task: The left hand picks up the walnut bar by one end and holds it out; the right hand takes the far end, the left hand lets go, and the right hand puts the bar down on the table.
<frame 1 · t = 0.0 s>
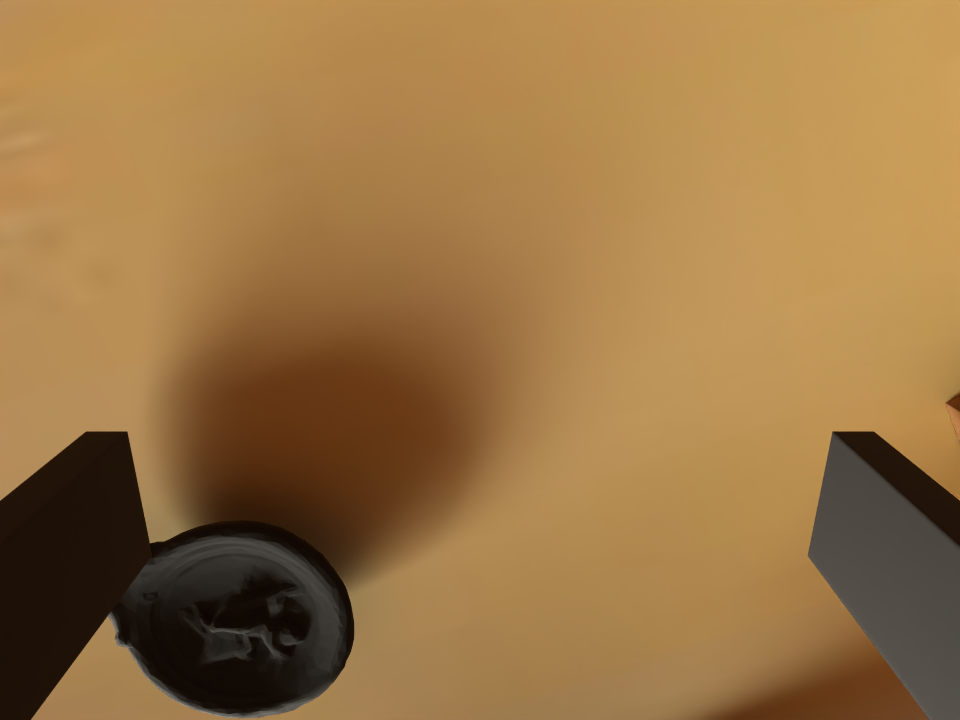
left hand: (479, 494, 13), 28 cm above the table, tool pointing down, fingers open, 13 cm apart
oil lamp: (227, 569, 47), on the table
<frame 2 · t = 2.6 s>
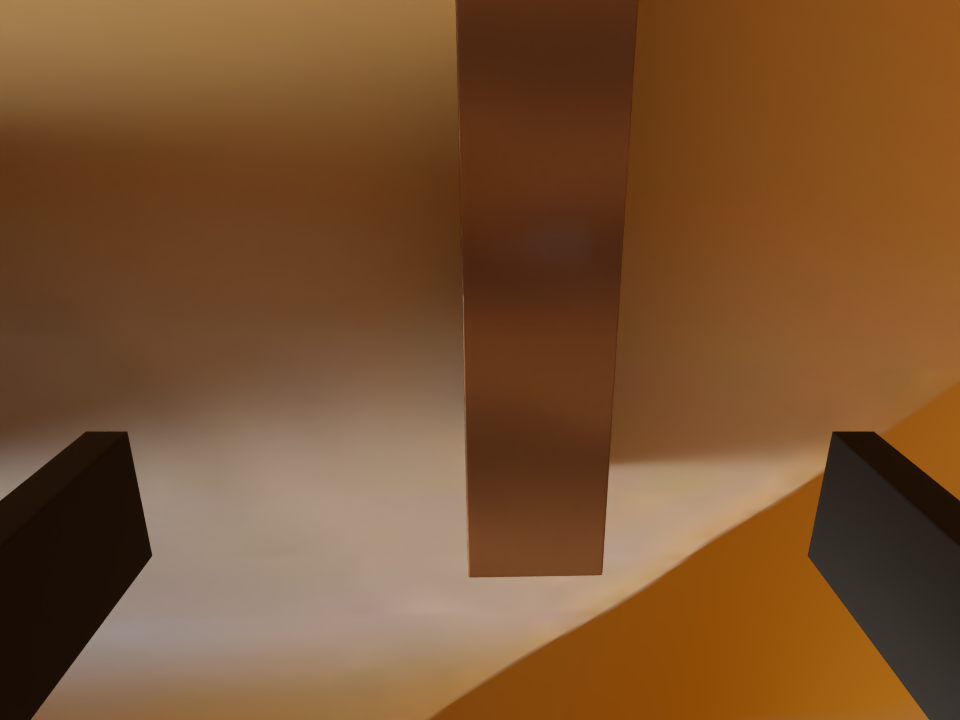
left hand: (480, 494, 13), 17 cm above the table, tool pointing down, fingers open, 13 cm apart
bar: (524, 91, 26), on the table
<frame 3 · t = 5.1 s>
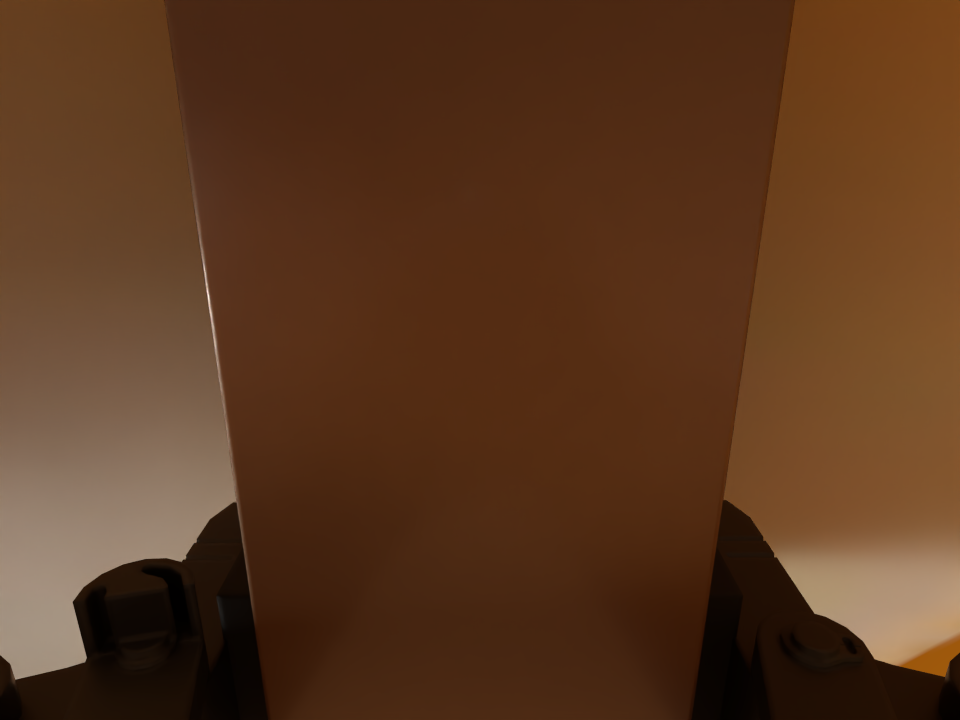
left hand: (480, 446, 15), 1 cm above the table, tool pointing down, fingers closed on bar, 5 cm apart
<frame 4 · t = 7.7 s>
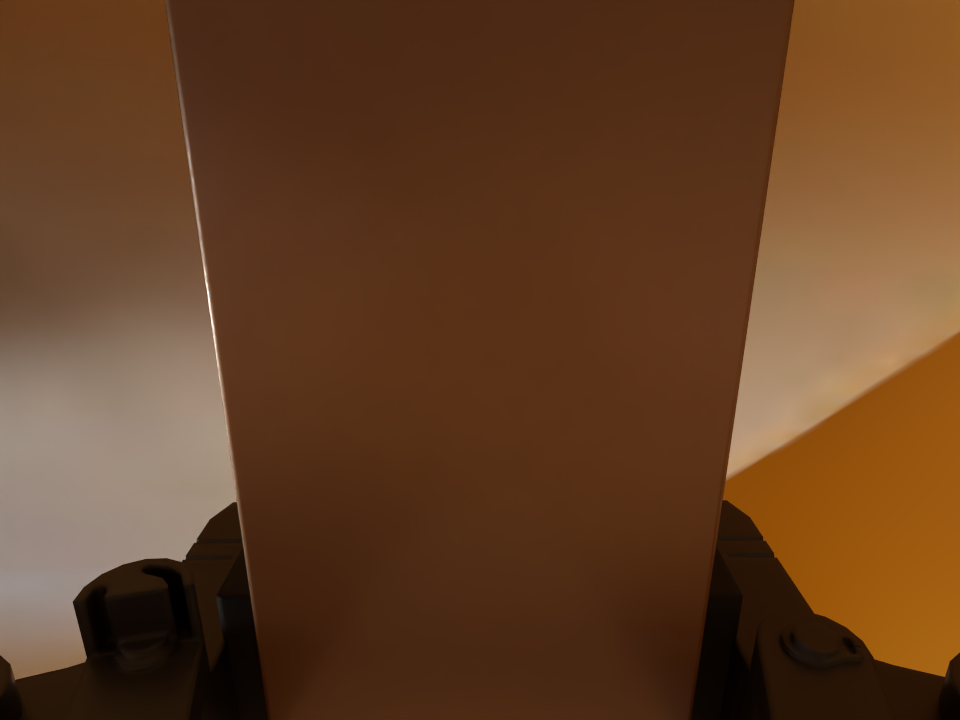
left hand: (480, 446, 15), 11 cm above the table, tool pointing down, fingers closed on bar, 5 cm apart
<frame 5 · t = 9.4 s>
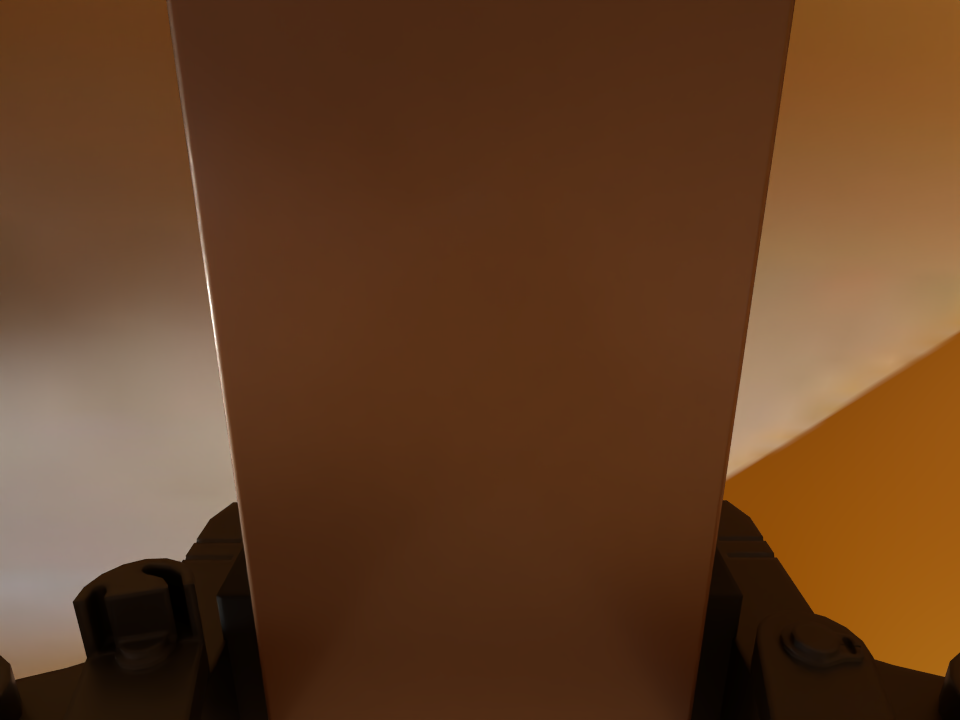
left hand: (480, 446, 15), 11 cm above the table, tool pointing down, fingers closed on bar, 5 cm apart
when the left hand's fingers open (11 cm above the table, at t = 10.2 s): bar stays where it is, held by the right hand.
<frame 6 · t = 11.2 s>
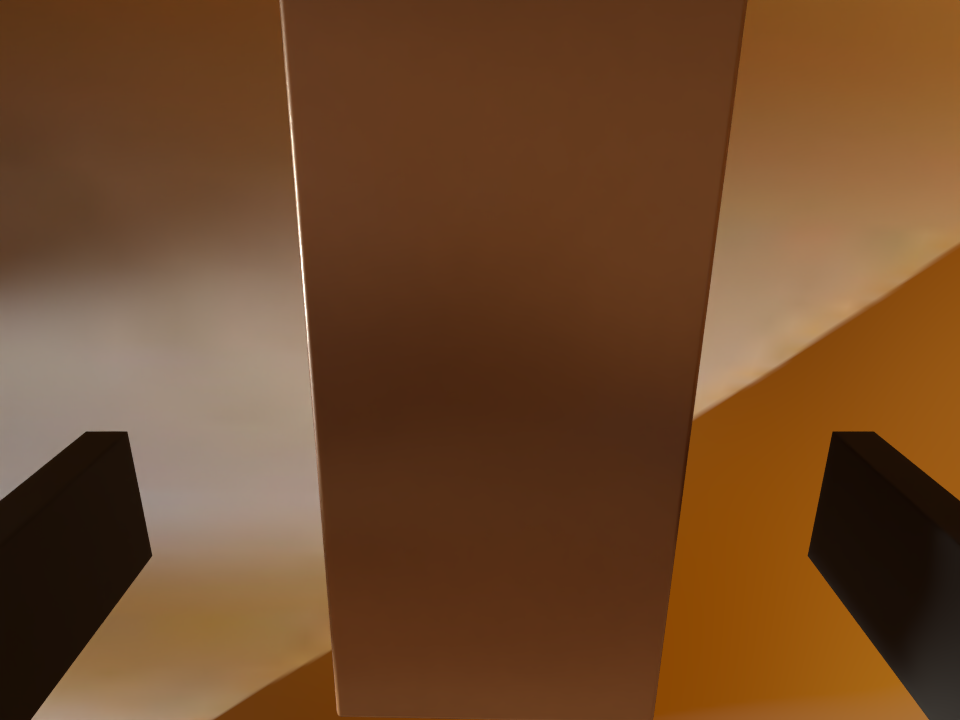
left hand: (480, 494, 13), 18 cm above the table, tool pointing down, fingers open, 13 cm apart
when the right hand's fingers open (2 cm above the table, at t = 13.7 s): bar drops 2 cm, on the table.
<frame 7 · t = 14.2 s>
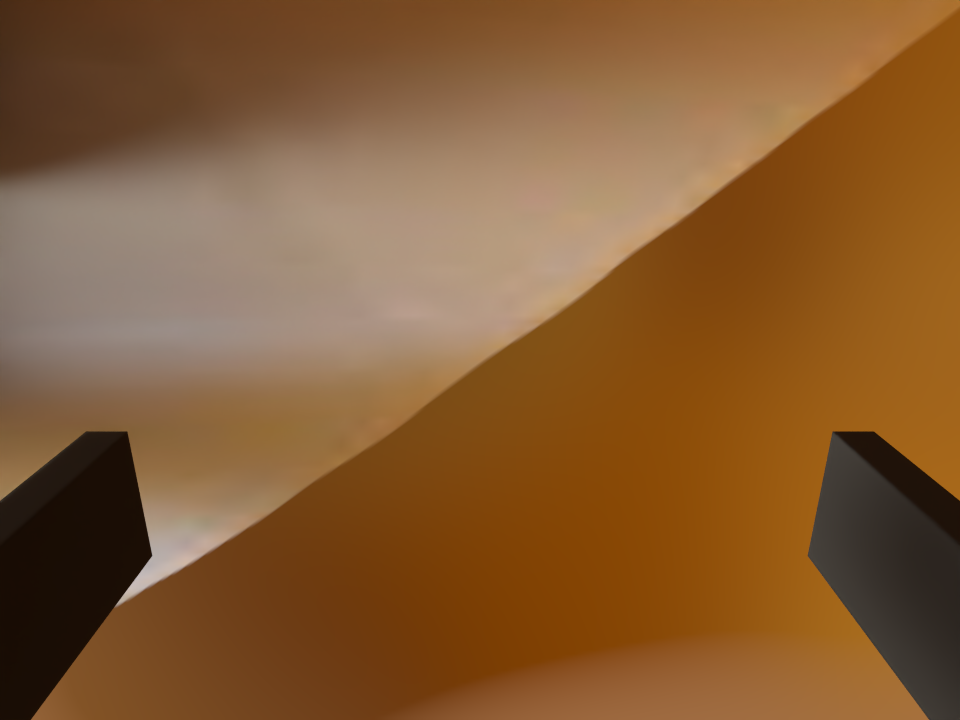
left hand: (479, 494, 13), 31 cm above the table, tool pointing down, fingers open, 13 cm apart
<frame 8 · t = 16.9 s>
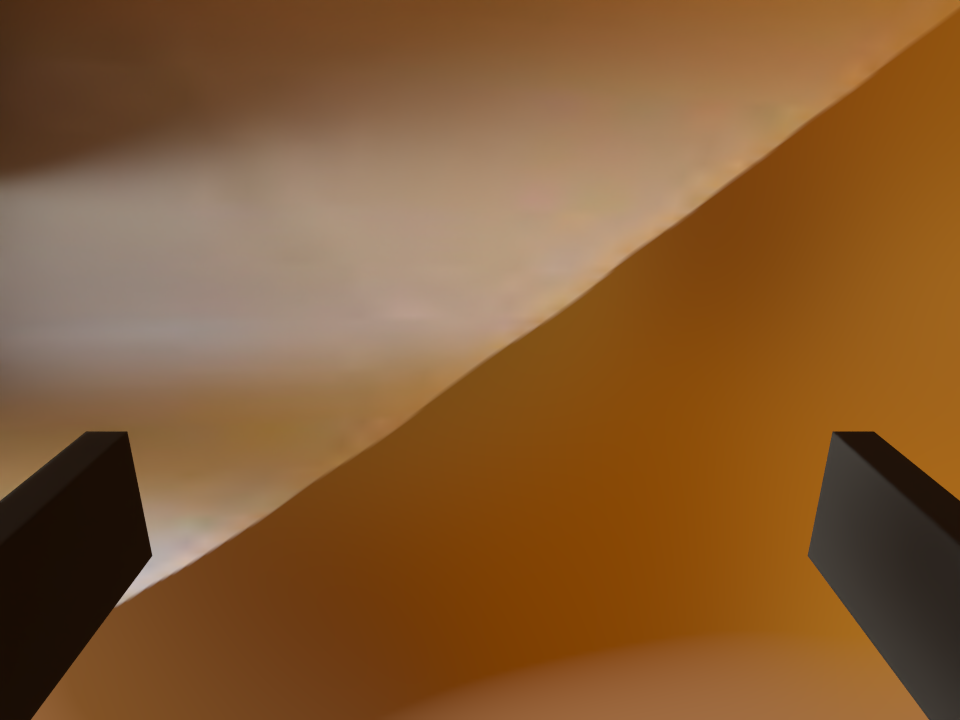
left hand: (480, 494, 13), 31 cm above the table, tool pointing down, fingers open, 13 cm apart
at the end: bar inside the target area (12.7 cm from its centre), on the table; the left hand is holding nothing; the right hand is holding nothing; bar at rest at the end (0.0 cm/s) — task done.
